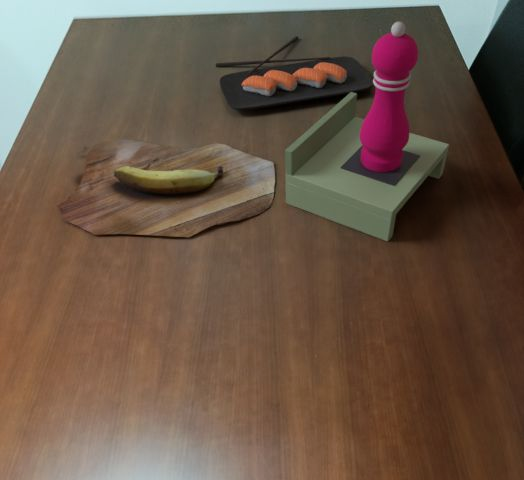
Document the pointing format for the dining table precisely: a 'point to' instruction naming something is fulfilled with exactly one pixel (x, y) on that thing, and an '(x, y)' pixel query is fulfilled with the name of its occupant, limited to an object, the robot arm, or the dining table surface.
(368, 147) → the pepper mill
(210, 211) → the cutting board
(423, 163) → the shelf
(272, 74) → the sushi plate
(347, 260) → the dining table surface
